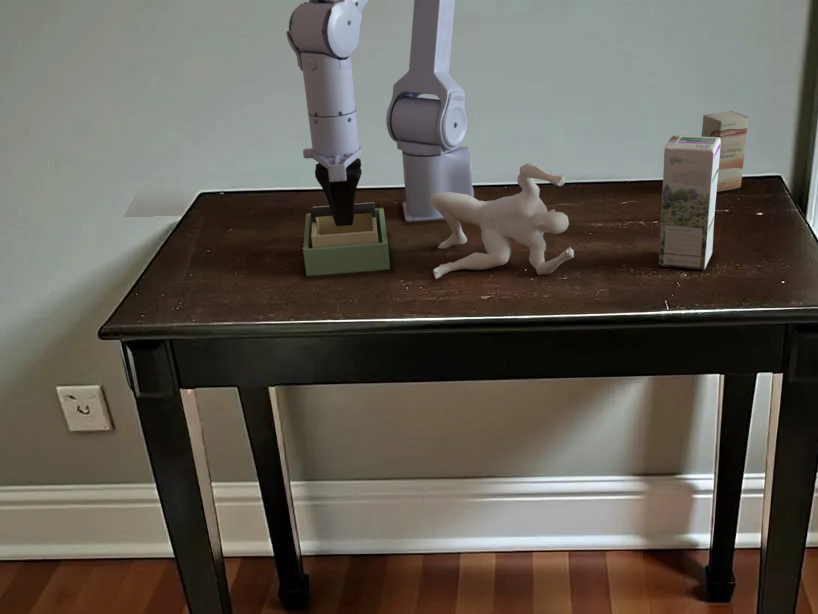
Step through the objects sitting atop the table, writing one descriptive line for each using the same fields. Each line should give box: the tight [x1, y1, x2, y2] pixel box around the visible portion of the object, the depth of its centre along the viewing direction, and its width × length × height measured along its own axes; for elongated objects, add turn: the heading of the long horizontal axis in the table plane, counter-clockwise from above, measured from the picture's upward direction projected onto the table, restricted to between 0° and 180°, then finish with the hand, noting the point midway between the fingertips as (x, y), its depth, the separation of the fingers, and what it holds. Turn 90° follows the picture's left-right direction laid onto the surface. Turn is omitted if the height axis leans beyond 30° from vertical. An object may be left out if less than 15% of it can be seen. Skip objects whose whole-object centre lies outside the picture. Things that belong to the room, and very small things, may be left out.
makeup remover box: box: [701, 110, 749, 193], centre depth 152 cm, size 5×4×10 cm
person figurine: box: [430, 162, 575, 280], centre depth 130 cm, size 13×13×18 cm
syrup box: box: [658, 135, 721, 271], centre depth 126 cm, size 6×6×14 cm
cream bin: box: [310, 201, 378, 248], centre depth 135 cm, size 8×12×6 cm, turn 7°
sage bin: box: [302, 207, 391, 277], centre depth 136 cm, size 10×14×4 cm
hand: (344, 222), depth 134 cm, fingers closed on cream bin
